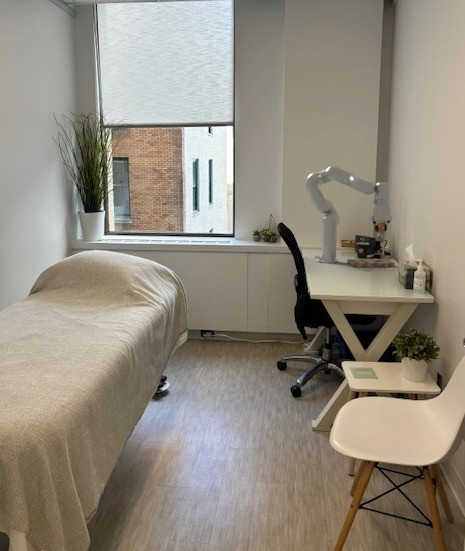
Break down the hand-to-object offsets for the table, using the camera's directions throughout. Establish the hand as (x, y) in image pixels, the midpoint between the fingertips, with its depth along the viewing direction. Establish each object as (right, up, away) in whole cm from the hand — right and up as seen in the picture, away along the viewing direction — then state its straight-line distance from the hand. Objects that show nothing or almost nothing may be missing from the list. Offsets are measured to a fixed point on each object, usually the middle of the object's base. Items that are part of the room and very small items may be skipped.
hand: (380, 231), depth 340 cm
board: (-5, -21, +4) cm, 22 cm away
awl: (0, -6, +1) cm, 6 cm away
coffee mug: (-3, -16, +32) cm, 36 cm away
